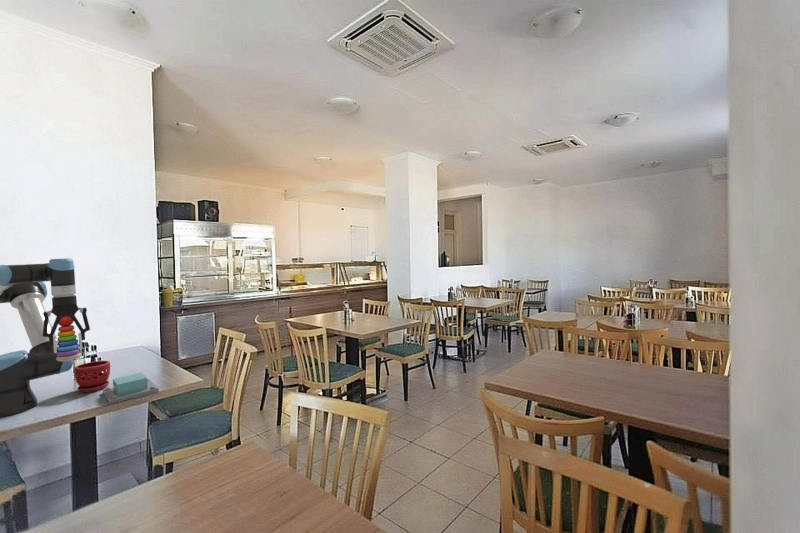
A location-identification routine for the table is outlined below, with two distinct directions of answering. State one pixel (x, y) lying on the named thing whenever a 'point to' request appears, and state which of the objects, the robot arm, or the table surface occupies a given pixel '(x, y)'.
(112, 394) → the baseplate
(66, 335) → the stacking toy
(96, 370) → the plant pot
